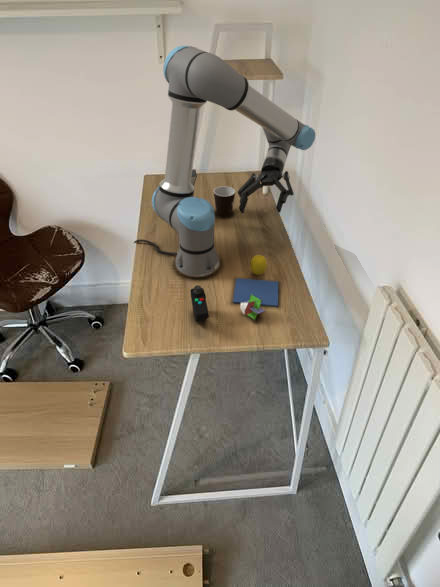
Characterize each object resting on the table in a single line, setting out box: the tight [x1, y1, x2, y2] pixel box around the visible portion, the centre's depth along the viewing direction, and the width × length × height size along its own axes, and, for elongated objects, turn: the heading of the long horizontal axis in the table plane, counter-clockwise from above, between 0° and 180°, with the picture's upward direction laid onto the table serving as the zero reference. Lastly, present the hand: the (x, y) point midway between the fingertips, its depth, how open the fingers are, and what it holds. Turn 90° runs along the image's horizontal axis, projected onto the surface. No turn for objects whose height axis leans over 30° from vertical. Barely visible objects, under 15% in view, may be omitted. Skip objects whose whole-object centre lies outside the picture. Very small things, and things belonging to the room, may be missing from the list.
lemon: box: [249, 254, 268, 276], centre depth 145 cm, size 6×6×8 cm
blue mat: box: [232, 277, 279, 308], centre depth 140 cm, size 14×12×1 cm
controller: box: [190, 285, 210, 324], centre depth 127 cm, size 4×12×10 cm, turn 10°
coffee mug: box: [213, 185, 236, 218], centre depth 176 cm, size 12×9×10 cm
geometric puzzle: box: [239, 294, 266, 321], centre depth 130 cm, size 7×7×8 cm
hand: (259, 210), depth 148 cm, fingers open, 13 cm apart
